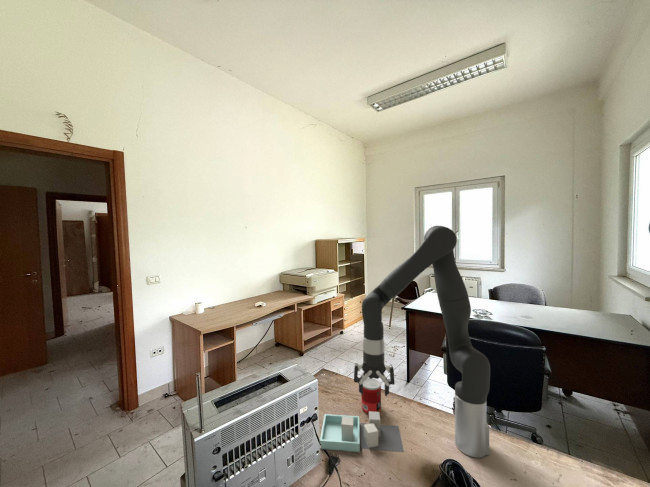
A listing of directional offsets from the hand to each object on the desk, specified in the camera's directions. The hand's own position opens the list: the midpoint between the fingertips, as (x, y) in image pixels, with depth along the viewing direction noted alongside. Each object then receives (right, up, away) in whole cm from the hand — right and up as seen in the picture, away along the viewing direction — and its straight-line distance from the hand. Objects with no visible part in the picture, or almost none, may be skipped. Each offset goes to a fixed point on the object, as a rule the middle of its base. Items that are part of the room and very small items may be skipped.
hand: (373, 393), depth 94 cm
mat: (+2, -14, -2) cm, 15 cm away
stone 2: (0, -14, 0) cm, 14 cm away
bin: (-12, -15, -1) cm, 19 cm away
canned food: (+1, -14, +13) cm, 20 cm away
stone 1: (-10, -14, -2) cm, 17 cm away
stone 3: (-2, -14, -4) cm, 15 cm away
